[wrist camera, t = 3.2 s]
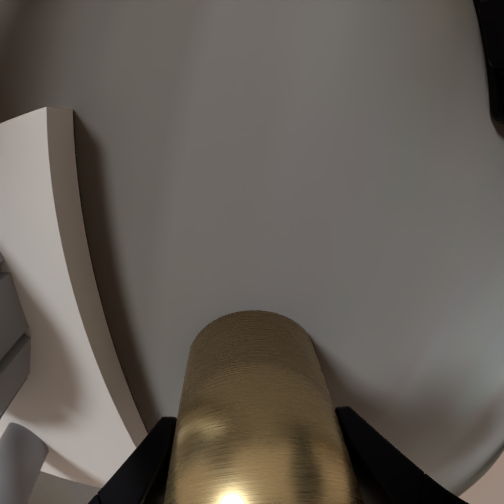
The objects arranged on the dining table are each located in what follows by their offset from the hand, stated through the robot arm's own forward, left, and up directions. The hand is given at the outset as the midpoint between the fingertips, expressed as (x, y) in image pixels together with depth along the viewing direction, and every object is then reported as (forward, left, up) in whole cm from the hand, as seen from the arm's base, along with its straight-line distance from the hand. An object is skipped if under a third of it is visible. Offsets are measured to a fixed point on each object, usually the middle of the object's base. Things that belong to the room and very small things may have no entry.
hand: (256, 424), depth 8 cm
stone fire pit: (+12, 0, -3) cm, 12 cm away
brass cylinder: (0, 0, -3) cm, 3 cm away
